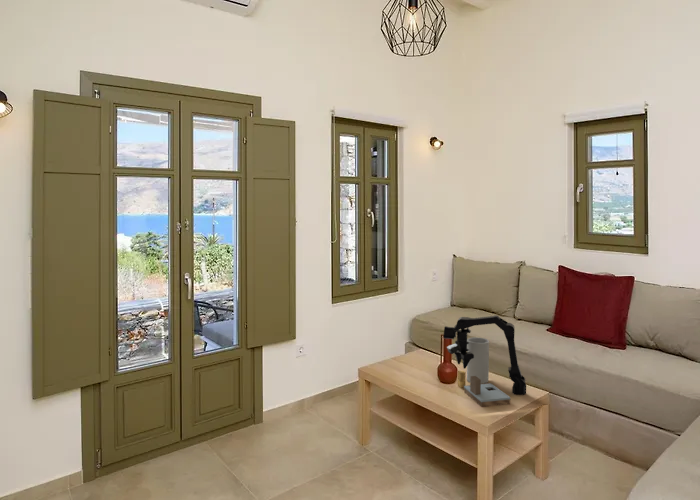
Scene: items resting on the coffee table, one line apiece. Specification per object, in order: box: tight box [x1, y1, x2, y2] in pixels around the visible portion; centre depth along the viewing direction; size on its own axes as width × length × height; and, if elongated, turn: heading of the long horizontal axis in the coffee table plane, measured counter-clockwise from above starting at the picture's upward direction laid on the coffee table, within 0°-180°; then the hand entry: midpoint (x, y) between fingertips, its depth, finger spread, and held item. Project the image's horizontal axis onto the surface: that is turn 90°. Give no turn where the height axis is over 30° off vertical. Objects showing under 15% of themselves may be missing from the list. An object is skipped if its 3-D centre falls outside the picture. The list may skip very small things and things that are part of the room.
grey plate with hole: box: [463, 376, 511, 402], centre depth 256 cm, size 16×20×9 cm
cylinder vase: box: [466, 337, 490, 384], centre depth 283 cm, size 12×12×25 cm
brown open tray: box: [463, 388, 511, 408], centre depth 257 cm, size 16×20×4 cm
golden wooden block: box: [457, 369, 467, 389], centre depth 273 cm, size 3×3×10 cm
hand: (461, 366), depth 272 cm, fingers open, 7 cm apart
